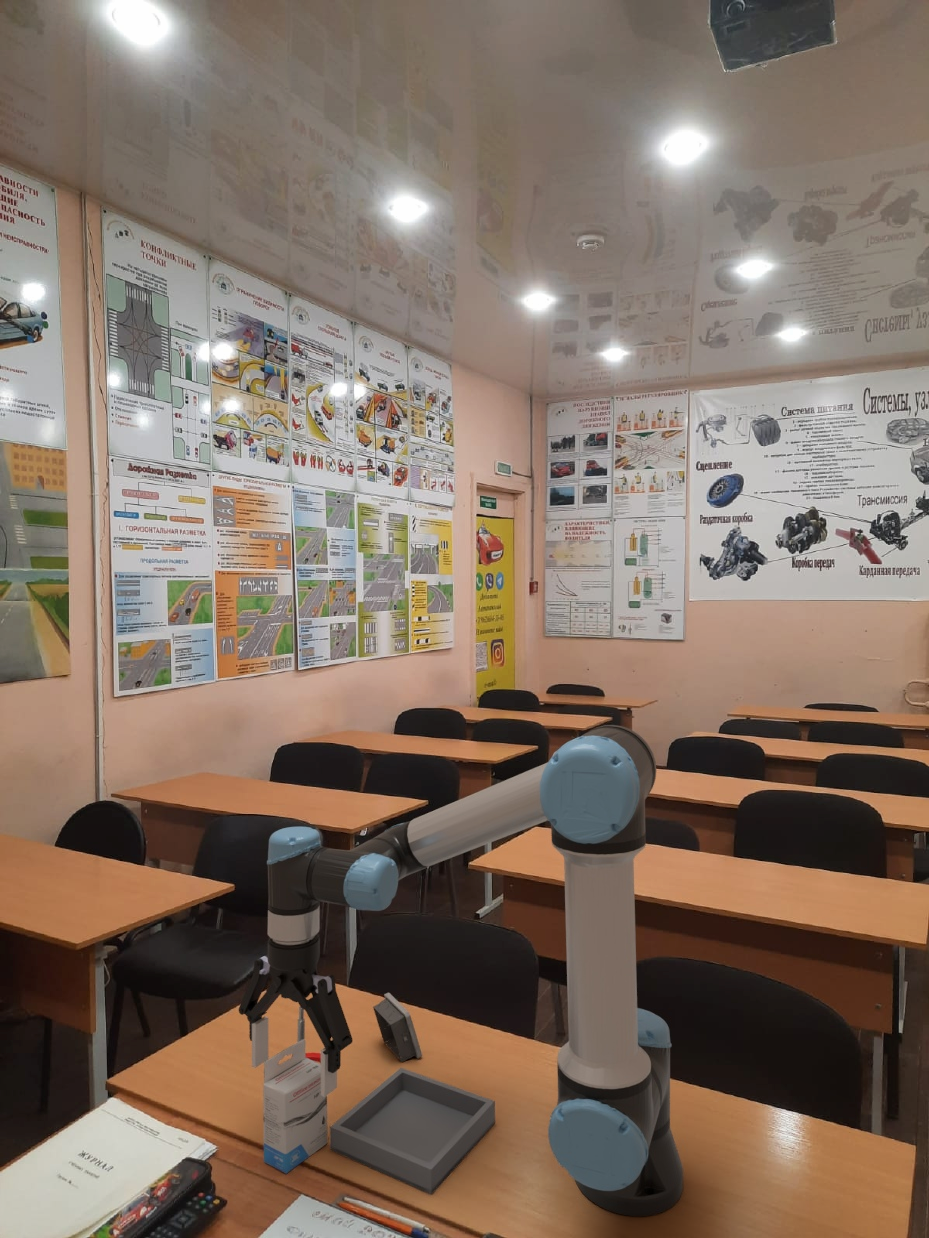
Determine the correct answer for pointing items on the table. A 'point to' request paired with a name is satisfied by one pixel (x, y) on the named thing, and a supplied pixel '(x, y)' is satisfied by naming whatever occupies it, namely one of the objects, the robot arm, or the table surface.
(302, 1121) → the ink box
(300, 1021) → the tow hook
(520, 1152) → the table surface
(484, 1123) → the tray
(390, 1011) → the electrical switch
